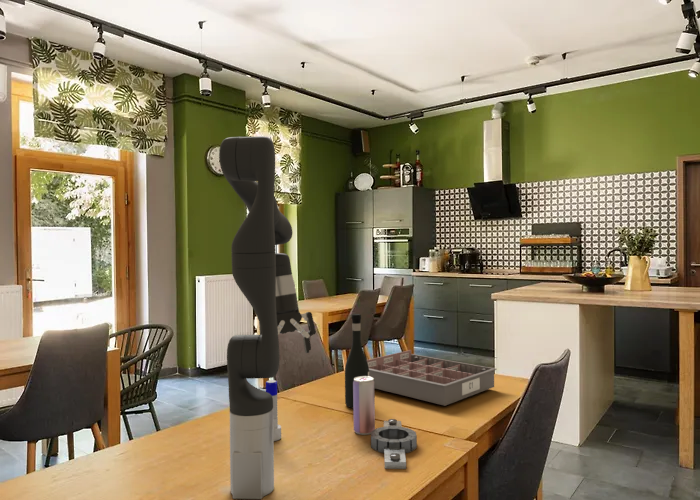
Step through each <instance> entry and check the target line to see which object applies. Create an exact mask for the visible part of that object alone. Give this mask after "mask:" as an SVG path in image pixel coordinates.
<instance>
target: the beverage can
mask: <svg viewBox="0 0 700 500" xmlns="http://www.w3.org/2000/svg"><path fill="white" fill-rule="evenodd" d="M375 397H376V396H375V388H374V378H373V377H369V376H359V377H355V378H354V382H353V408H352V410H353V431H354V433H356V434H357V435H361V436H367V435H368V436H369V435H371V432H372V431H373V430H375V429H376V423H375V422H376V419H375V418H376V414H375V413H376V411H375V410H376V409H375V408H376V407H375V406H376V405H375Z"/></svg>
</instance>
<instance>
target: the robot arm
mask: <svg viewBox="0 0 700 500" xmlns="http://www.w3.org/2000/svg"><path fill="white" fill-rule="evenodd" d="M218 160H219V166H220V169H221V172H222V174H223V176H224V178H225V180H226V181H227V182H228V183H229V185H230V186H231V187H232V190H233V191H234V192H235V193H236V194H237V195H238V197H239V198H240V199H241V201H242V202H243V203H244V205H245V206H246V208H247V210H248V213H247V215H246V217H245V219H244V220H243V222H242V223H241V225H240V226H239V228H238V230H237V232H236V233H235V235H234V237H233V240H232V242H231V250H230V251H231V273H232V274H231V275H232V276H233V280H234V282H235V284H236V285H237V287H238V288H239V290H240V292H241V293H242V294H243V295H244V297H245V298H246V300H247V301H248V302H249V304H250V306H251V307H252V309H253V311H254V314H255V315H256V317H257V320H258V329H259V334H237V335H233V336H232V337H230V339H229V341H228V344H227V349H226V366H227V380H228V381H227V382H228V383H227V384H228V401H229V402H228V403H229V404H228V405H229V457H230V458H229V461H230V462H229V465H230V466H229V468H230V470H229V471H230V472H229V474H230V477H229V478H230V493H231V496H232V499H235V500H238V499H239V500H241V499H242V500H262V499H263V498H264V497H265V496H267V495H270V494H271V493H272V492H273V490H274V489H275V469H274V468H275V466H274V465H275V460H274V459H275V458H274V455H275V453H274V452H275V451H274V446H275V445H274V444H275V443H274V441H273V398H272V395H271V394H269V393H268V392H266V390H262V389H260V388H258V387H256V386H254V385H253V384H252V383H250V382H249V381H248V379H271V378H275V376H277V375H278V372H279V369H280V357H281V355H280V342H279V341H280V339H279V335H280V334H282V335H283V334H287V333H293V332H297V333H299V334H300V335H301V336H302V337H303V338H302V343H303V348H304V353H305V354H309V353H310V351H311V350H312V346H311V345H312V344H311V336H314V335H316V333H317V332H316V331H317V330H316V327H315V326H316V325H315V321H314V318H313V313H312V312H311V311H307V312H304V313H300V307H299V303H298V297H297V292H296V291H297V289H296V284H295V280H294V277H293V273H292V266H291V259H290V256H289V255H288V254H287V253H282V252H281V253H280V252H279V253H278V252H276V251H277V250H276V246H279V245H280V246H281V245H285V244H287V243H289V242H290V240H291V239H292V237H293V227H292V225H291V223H290V221H289V219H288V218H287V217H286V216H285V215H284V213H282V212H281V210H280V208H279V205H278V203H277V200H276V198H275V182H276V150H275V145H274V142H273V140H272V139H271V138H270V137H269V136H265V135H264V136H260V135H259V136H230V137H226V138H225V139H223V140H222V142H221V143H220V146H219V154H218ZM302 319H303V320H304V321H306V323H307V327H308V331H306V330H305V328H304V327H303V326H301V325H300V323H301V321H302Z"/></svg>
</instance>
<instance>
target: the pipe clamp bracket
mask: <svg viewBox="0 0 700 500" xmlns="http://www.w3.org/2000/svg"><path fill="white" fill-rule="evenodd" d="M417 436H418V435H417V432H416V431H415V430H413V429H412V428H409V427H405V426H402V421H401V420H397V419H395V418H389V419H388V420H383V426H381V427H377V428H376V427H375V430H373V431H372V432H371V434H370V447H371V449H372V450H374V451H375V452H378V453H381V454H384V455H383V457H384V469H388V470H390V469H391V470H406V469H407V459H406V454H408V453H411V452H412V453H413V451H415V450H416V449H417V447H418V444H417V443H418V442H417V440H418V438H417Z"/></svg>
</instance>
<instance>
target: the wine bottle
mask: <svg viewBox="0 0 700 500" xmlns="http://www.w3.org/2000/svg"><path fill="white" fill-rule="evenodd" d="M361 320H362V315H361V314H360V313H353V314H351V321H352V322H351V323H352V325H351V326H352V328H351V329H352V344H351V348H350V351H349V354H348V357H347V359H346V362H345V368H344V402H345V405H346V406H347V407H348V408H350V409H353V382H354V378H355V377H359V376H369V367H368V363H367V360H368V359H367V357H366V355H365V352H364V350H363V347H362V340H361V339H362V333H361V332H362V331H361V327H362V326H361V322H362V321H361Z"/></svg>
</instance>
